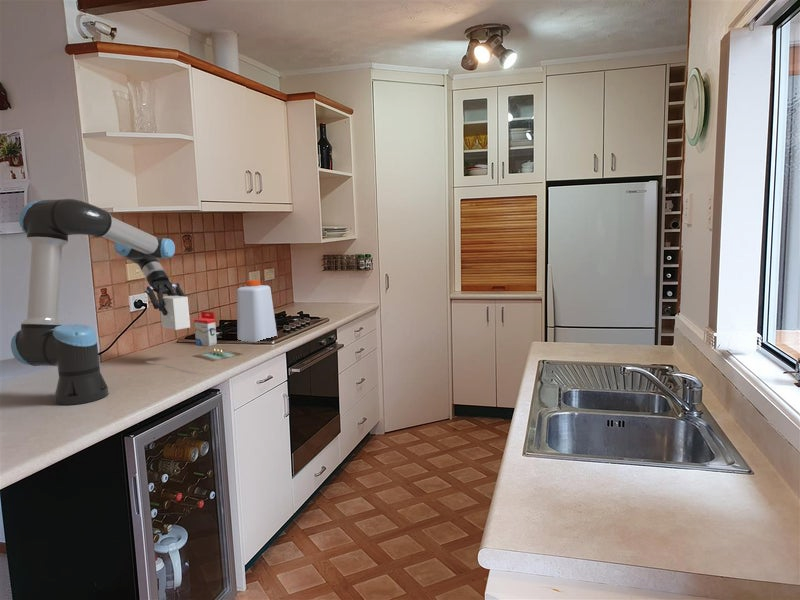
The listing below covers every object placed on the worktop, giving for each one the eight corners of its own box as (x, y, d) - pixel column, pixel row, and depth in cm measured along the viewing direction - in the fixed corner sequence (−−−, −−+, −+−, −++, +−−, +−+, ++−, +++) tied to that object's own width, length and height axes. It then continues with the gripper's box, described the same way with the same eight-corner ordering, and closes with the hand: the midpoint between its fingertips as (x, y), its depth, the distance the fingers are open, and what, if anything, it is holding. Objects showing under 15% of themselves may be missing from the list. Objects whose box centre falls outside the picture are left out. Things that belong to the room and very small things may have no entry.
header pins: (221, 356, 236) (220, 350, 236) (212, 354, 240) (212, 348, 240) (223, 355, 237) (222, 349, 236) (215, 353, 241) (214, 347, 240)
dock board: (213, 364, 228) (213, 361, 228) (192, 359, 239) (191, 356, 239) (244, 357, 239) (244, 354, 238) (222, 352, 249) (222, 349, 249)
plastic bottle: (262, 345, 260) (257, 282, 256) (233, 344, 265) (228, 282, 261) (281, 338, 273) (276, 278, 269) (253, 337, 279) (249, 278, 275)
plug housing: (175, 329, 226) (172, 298, 224) (161, 327, 233) (159, 297, 231) (190, 327, 230) (187, 296, 229) (176, 324, 237) (173, 295, 236)
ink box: (195, 345, 266) (192, 313, 264) (203, 342, 271) (201, 311, 269) (209, 346, 262) (206, 313, 260) (217, 344, 267) (214, 311, 265)
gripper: (175, 279, 246) (199, 321, 238) (129, 284, 232) (153, 329, 224) (180, 267, 242) (205, 309, 234) (134, 271, 228) (158, 316, 220)
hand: (179, 319), depth 229 cm, fingers closed on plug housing, 6 cm apart
